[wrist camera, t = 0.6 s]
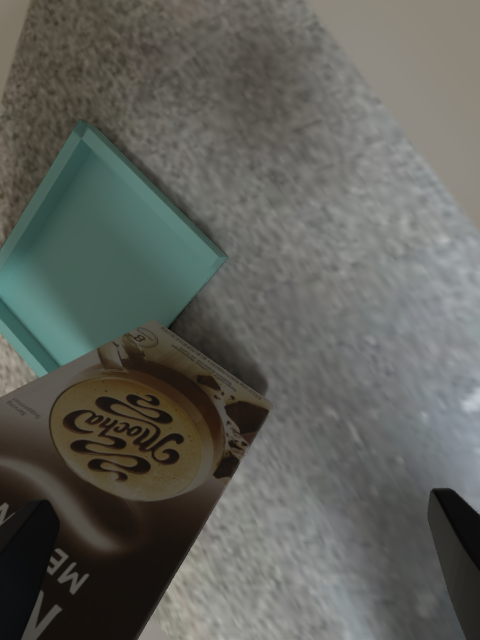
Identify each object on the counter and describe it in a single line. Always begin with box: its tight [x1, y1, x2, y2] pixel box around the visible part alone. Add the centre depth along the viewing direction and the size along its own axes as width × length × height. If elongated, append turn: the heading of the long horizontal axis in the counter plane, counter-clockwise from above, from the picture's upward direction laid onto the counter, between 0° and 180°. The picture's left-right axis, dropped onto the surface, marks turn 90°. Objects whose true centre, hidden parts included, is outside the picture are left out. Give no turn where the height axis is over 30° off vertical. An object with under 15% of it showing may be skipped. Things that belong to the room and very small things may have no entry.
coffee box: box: [0, 320, 273, 640], centre depth 17 cm, size 9×6×16 cm
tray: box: [0, 119, 228, 377], centre depth 25 cm, size 12×15×2 cm
